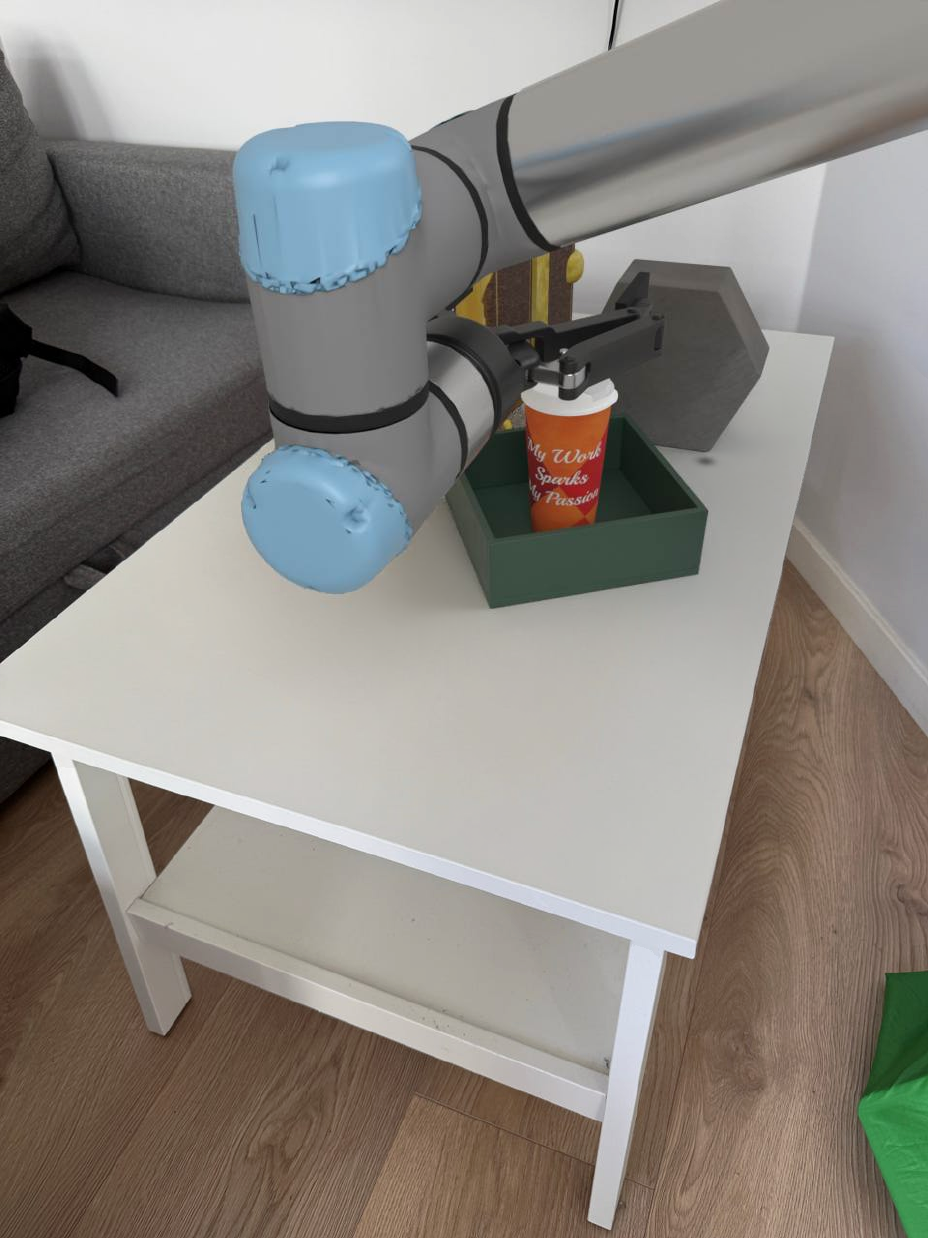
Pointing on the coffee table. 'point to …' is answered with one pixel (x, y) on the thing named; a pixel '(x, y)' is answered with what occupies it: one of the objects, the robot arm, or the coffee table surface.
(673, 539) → the bin
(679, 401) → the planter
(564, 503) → the coffee cup
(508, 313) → the book
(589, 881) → the coffee table surface
